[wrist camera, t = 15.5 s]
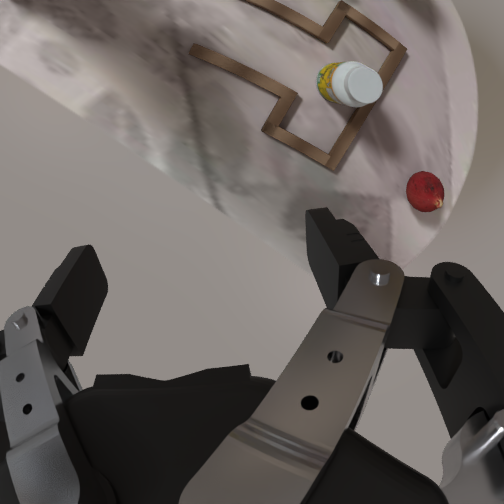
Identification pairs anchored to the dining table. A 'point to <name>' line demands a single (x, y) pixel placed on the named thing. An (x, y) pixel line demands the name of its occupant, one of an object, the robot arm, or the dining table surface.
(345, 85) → the supplement bottle
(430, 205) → the onion
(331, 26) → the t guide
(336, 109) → the dining table surface
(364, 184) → the dining table surface
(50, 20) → the dining table surface
